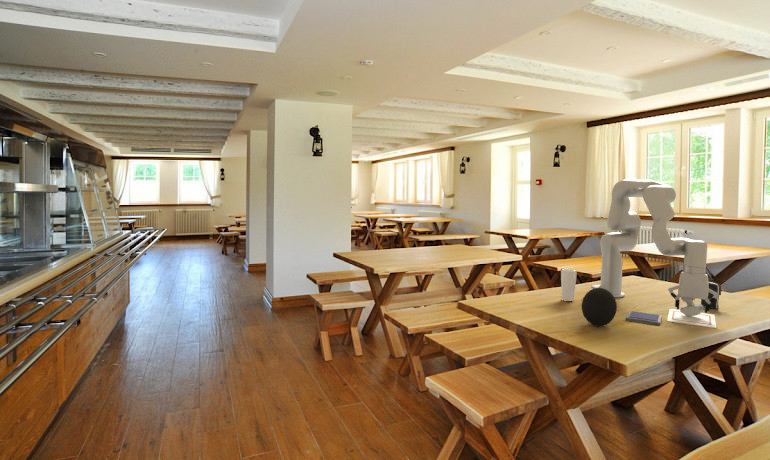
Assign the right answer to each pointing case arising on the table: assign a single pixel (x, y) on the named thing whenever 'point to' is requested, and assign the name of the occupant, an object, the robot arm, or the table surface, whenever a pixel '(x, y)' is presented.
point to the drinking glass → (568, 284)
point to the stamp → (691, 307)
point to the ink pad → (644, 317)
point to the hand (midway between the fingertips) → (691, 310)
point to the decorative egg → (599, 306)
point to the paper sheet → (692, 319)
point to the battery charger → (716, 288)
